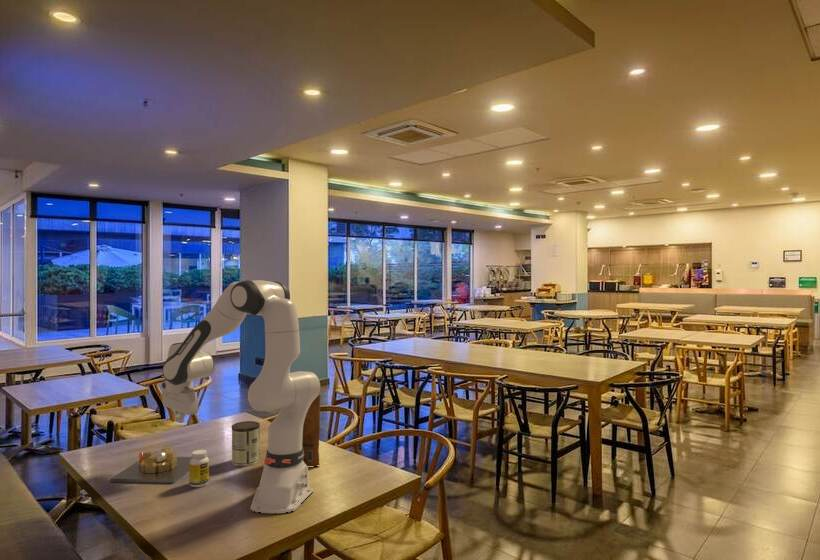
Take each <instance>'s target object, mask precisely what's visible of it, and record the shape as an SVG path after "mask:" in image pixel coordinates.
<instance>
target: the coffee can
mask: <svg viewBox="0 0 820 560" xmlns="http://www.w3.org/2000/svg"><path fill="white" fill-rule="evenodd" d="M260 425H261V423H260V422H258V421H254V420H252V421H251V420H250V421H249V420H246V421H240V422H236V423H234V424H232V425H231V464H232V465H233V466H237V467H246V466H247V465H248V466H253V465H255V464H257V463H259V462H258V461H260V459H261V458H260ZM252 464H253V465H252ZM248 466H247V467H248Z"/></svg>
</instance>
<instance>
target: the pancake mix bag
mask: <svg viewBox="0 0 820 560" xmlns="http://www.w3.org/2000/svg"><path fill="white" fill-rule="evenodd" d="M321 396H322V395H321V394H319V395H318V396H317V397H316V398H315V399H314V401H313V402H312V403H311V405H310V407H309V409H308V411H307V414H306V417H305V420H304V424H303V438H302V447H303V448H304V459H303V461H304V463H305V464H306V465H307V466H317V465H320V451H319V447H320V432H321Z"/></svg>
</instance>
